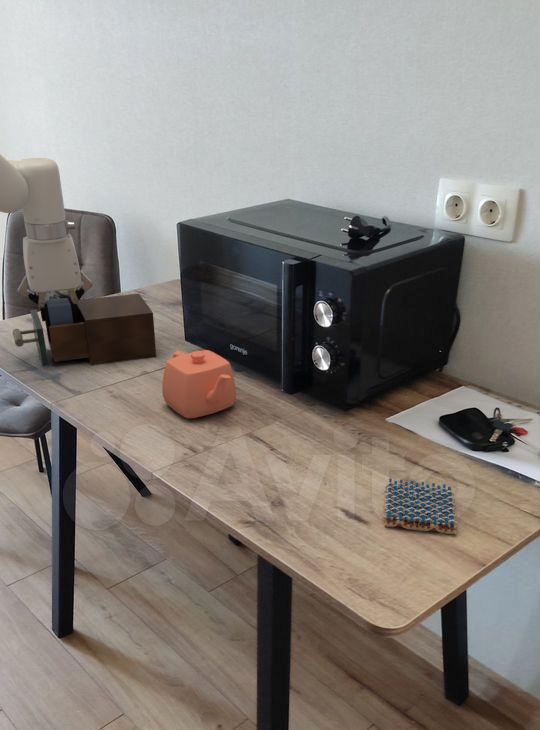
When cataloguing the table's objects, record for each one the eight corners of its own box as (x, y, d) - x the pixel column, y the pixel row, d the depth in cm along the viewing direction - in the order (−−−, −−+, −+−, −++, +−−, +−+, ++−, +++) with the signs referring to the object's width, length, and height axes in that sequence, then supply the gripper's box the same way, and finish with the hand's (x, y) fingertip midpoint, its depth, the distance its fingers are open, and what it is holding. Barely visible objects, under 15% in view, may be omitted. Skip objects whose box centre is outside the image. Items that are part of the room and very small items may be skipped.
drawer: (20, 369, 139) (13, 331, 135) (15, 348, 148) (8, 312, 144) (105, 358, 144) (101, 321, 140) (95, 338, 153) (91, 303, 149)
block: (51, 328, 141) (47, 307, 138) (48, 320, 144) (45, 300, 142) (73, 325, 142) (70, 304, 140) (70, 318, 145) (67, 297, 143)
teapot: (202, 382, 137) (200, 332, 132) (256, 418, 125) (257, 364, 120) (150, 397, 131) (146, 345, 126) (202, 436, 120) (200, 380, 114)
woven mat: (381, 529, 99) (382, 517, 97) (383, 487, 107) (385, 476, 106) (457, 537, 97) (459, 526, 96) (453, 495, 106) (455, 484, 105)
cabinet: (91, 365, 143) (85, 320, 138) (81, 343, 153) (75, 300, 148) (156, 356, 148) (153, 312, 142) (142, 335, 157) (139, 293, 152)
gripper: (88, 222, 139) (99, 311, 149) (-2, 229, 133) (16, 321, 143) (95, 231, 133) (106, 324, 143) (1, 238, 127) (19, 334, 137)
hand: (60, 321), depth 143 cm, fingers closed on block, 4 cm apart
